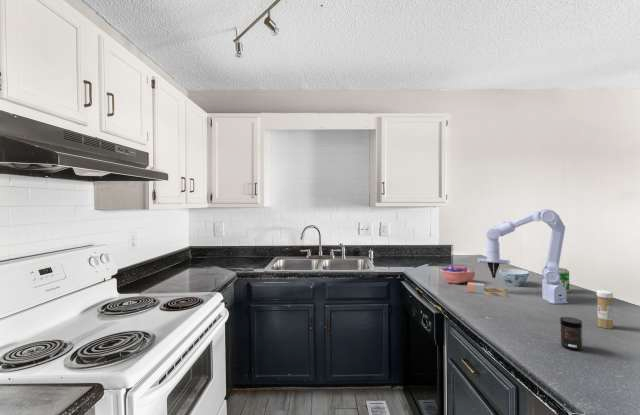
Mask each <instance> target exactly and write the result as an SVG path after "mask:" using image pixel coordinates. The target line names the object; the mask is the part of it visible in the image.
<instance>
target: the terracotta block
mask: <svg viewBox="0 0 640 415" xmlns="http://www.w3.org/2000/svg"><path fill="white" fill-rule="evenodd" d="M476 283H477V282H471V281H470V282H468V283H466V284H467V286H466V287H467V288H466V289H467V293H468V292H476Z"/></svg>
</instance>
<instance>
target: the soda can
mask: <svg viewBox="0 0 640 415" xmlns="http://www.w3.org/2000/svg"><path fill="white" fill-rule="evenodd" d="M559 274H560V280H559V281H560V283H561V285H562V286H564V287H565V288H566V294H568V292H570V291H571V288H570V286H571V285H570V271H569V270H568V269H567V268H565V267H564V268H563V267H559Z"/></svg>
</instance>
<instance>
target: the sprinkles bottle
mask: <svg viewBox="0 0 640 415" xmlns="http://www.w3.org/2000/svg"><path fill="white" fill-rule="evenodd" d="M613 295H614V294H613V292H612V291H610V290H609V291H608V290H604V289H603V290H602V289H601V290H600V289H598V290H596V296H597V297H596V298H597V302H596V303H597V309H596V311H597V326H598V328H599V327H600V328H602V329H607V330H609V329H614V323H613V322H614V320H613V319H614V314H613V313H614V306H613V297H614V296H613Z"/></svg>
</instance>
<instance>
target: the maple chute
mask: <svg viewBox="0 0 640 415" xmlns="http://www.w3.org/2000/svg"><path fill="white" fill-rule="evenodd" d="M467 293H470V294H480V295H484V296H492V297H503V298H508V296H509V294H508V289H507V288H495V287H485V291H484V293H476V292H467Z"/></svg>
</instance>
